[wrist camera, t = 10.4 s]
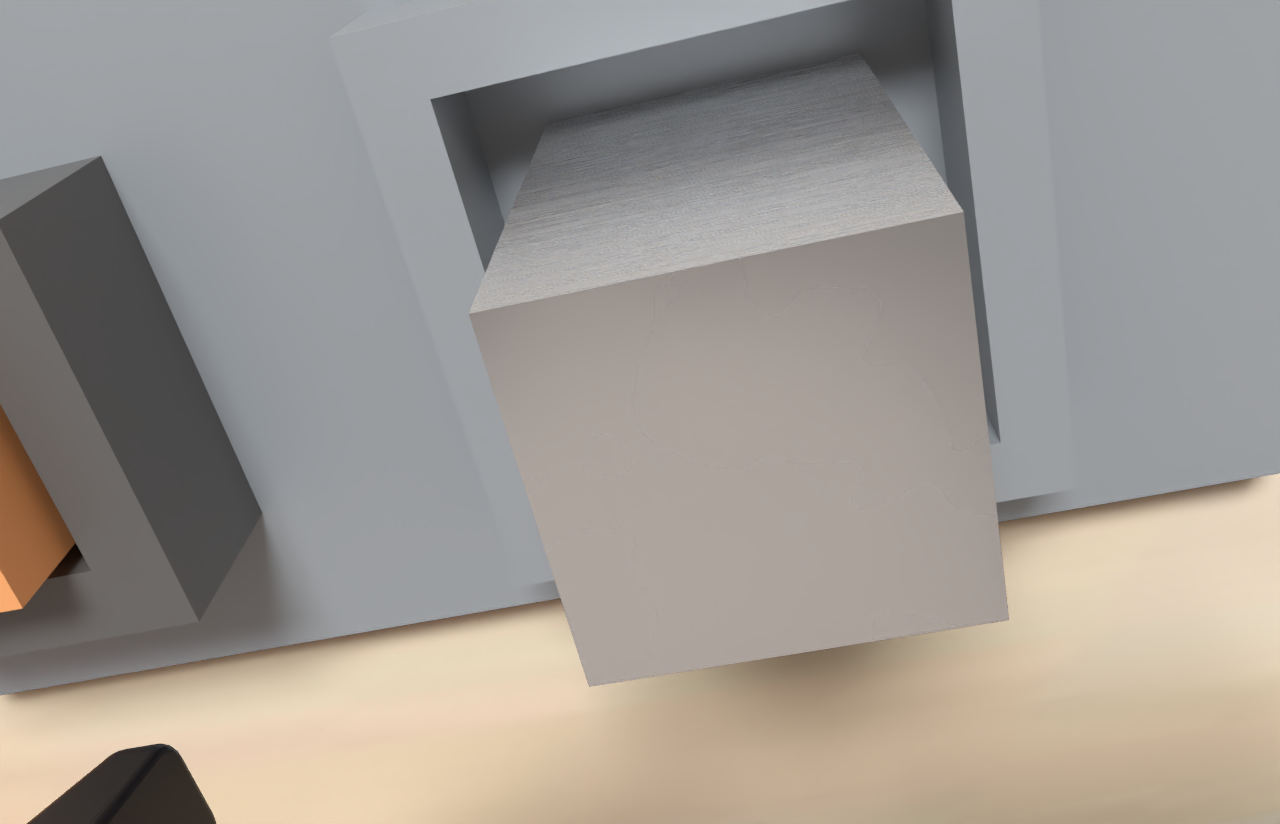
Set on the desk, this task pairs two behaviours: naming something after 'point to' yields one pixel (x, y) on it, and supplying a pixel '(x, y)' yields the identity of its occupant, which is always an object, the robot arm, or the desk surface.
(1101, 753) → the desk surface
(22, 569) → the button
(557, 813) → the desk surface
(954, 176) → the gray socket fixture
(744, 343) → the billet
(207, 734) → the desk surface
